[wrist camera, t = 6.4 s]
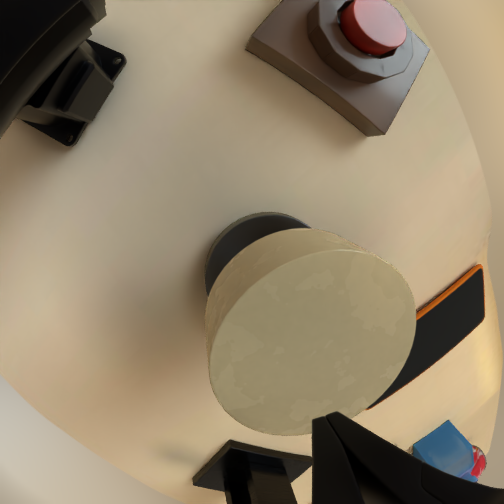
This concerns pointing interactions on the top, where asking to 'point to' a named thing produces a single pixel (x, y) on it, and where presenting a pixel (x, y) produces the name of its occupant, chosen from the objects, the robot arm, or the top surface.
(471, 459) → the perfume bottle
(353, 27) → the power button
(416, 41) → the box
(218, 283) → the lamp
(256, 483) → the switch bracket
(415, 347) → the smartphone
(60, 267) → the top surface
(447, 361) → the top surface
